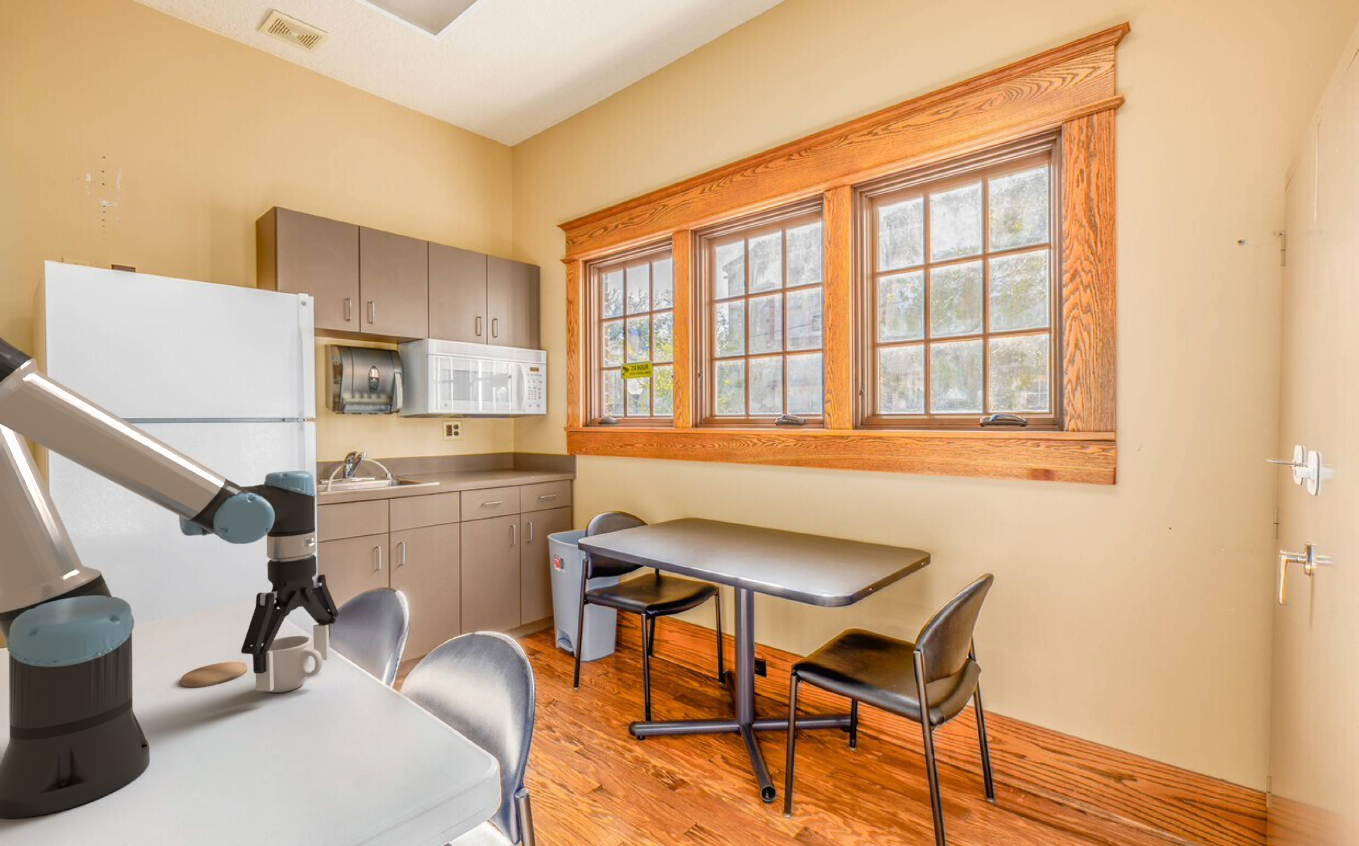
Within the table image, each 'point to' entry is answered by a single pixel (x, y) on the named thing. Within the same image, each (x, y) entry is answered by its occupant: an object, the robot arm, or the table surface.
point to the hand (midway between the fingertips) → (295, 673)
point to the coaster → (213, 674)
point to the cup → (293, 662)
